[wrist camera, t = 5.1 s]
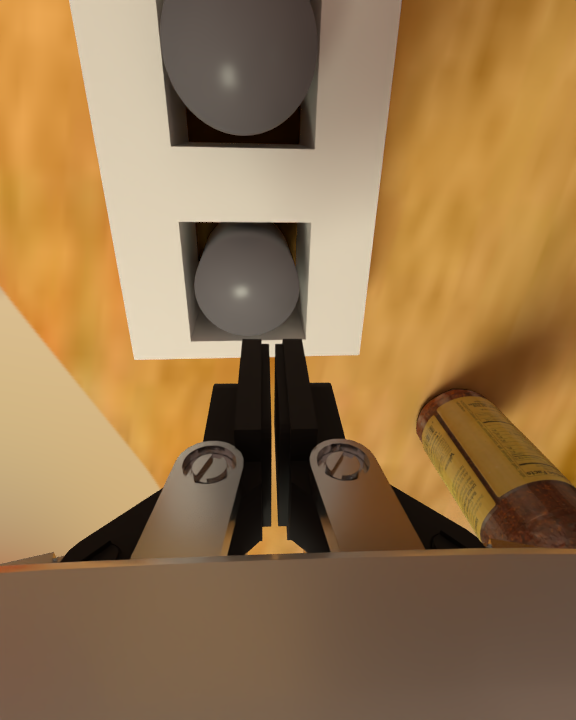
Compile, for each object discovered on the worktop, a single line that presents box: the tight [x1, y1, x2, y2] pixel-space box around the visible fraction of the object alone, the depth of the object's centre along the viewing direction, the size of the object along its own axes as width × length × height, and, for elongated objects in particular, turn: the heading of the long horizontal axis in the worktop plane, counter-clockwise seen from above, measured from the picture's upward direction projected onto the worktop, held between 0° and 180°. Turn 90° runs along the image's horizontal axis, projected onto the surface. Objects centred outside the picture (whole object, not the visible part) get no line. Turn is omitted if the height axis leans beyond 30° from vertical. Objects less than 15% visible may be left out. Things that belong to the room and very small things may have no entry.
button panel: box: [69, 0, 402, 360], centre depth 19 cm, size 12×26×6 cm, turn 179°
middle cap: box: [160, 0, 318, 136], centre depth 16 cm, size 5×5×6 cm
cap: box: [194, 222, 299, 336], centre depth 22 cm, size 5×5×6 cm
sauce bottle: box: [416, 389, 576, 549], centre depth 25 cm, size 6×6×20 cm
